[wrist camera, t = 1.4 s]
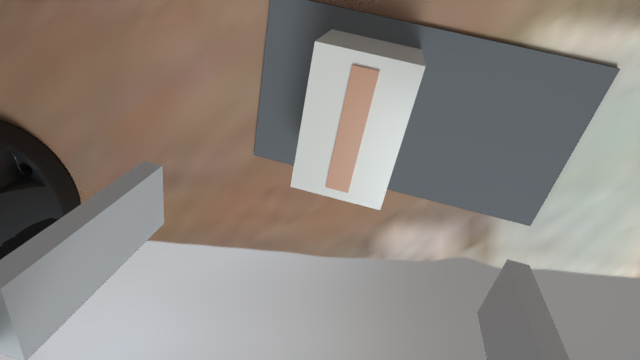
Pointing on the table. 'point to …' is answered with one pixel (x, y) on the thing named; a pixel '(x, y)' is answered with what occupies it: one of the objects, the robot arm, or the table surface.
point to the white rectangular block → (355, 116)
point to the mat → (446, 108)
